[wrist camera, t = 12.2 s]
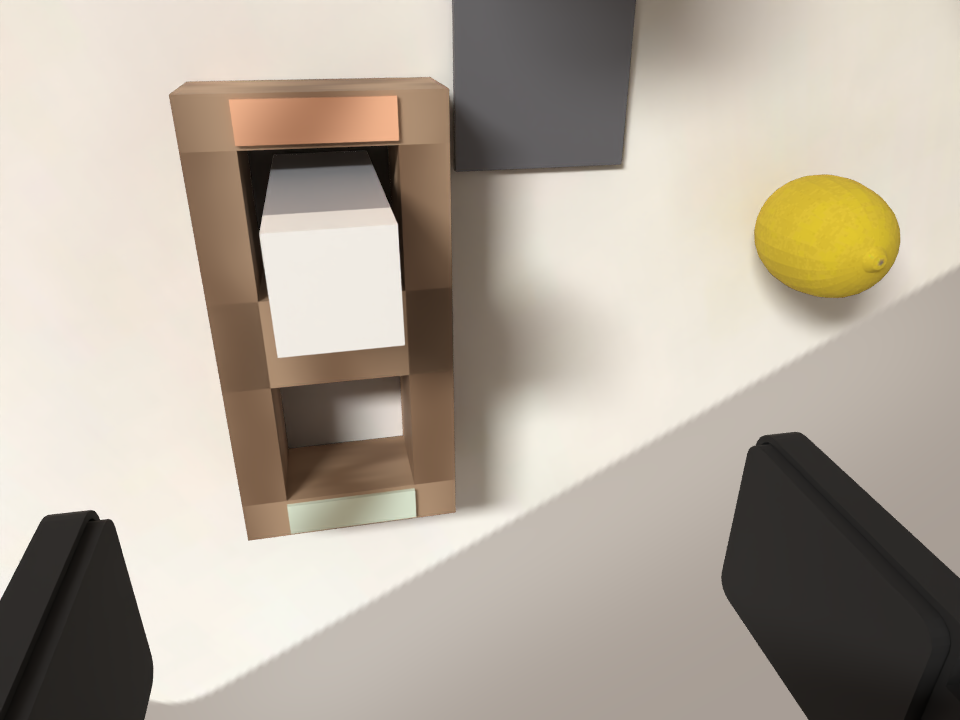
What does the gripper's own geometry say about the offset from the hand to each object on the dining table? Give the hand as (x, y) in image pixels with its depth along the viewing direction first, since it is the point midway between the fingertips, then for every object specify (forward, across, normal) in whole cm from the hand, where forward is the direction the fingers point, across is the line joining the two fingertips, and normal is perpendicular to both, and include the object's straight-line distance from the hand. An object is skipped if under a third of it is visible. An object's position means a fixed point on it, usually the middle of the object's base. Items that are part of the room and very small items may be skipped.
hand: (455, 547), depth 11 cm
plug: (+25, +2, +1) cm, 25 cm away
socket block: (+25, +2, +6) cm, 26 cm away
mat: (+25, -8, -4) cm, 27 cm away
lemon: (+26, -21, +3) cm, 33 cm away
